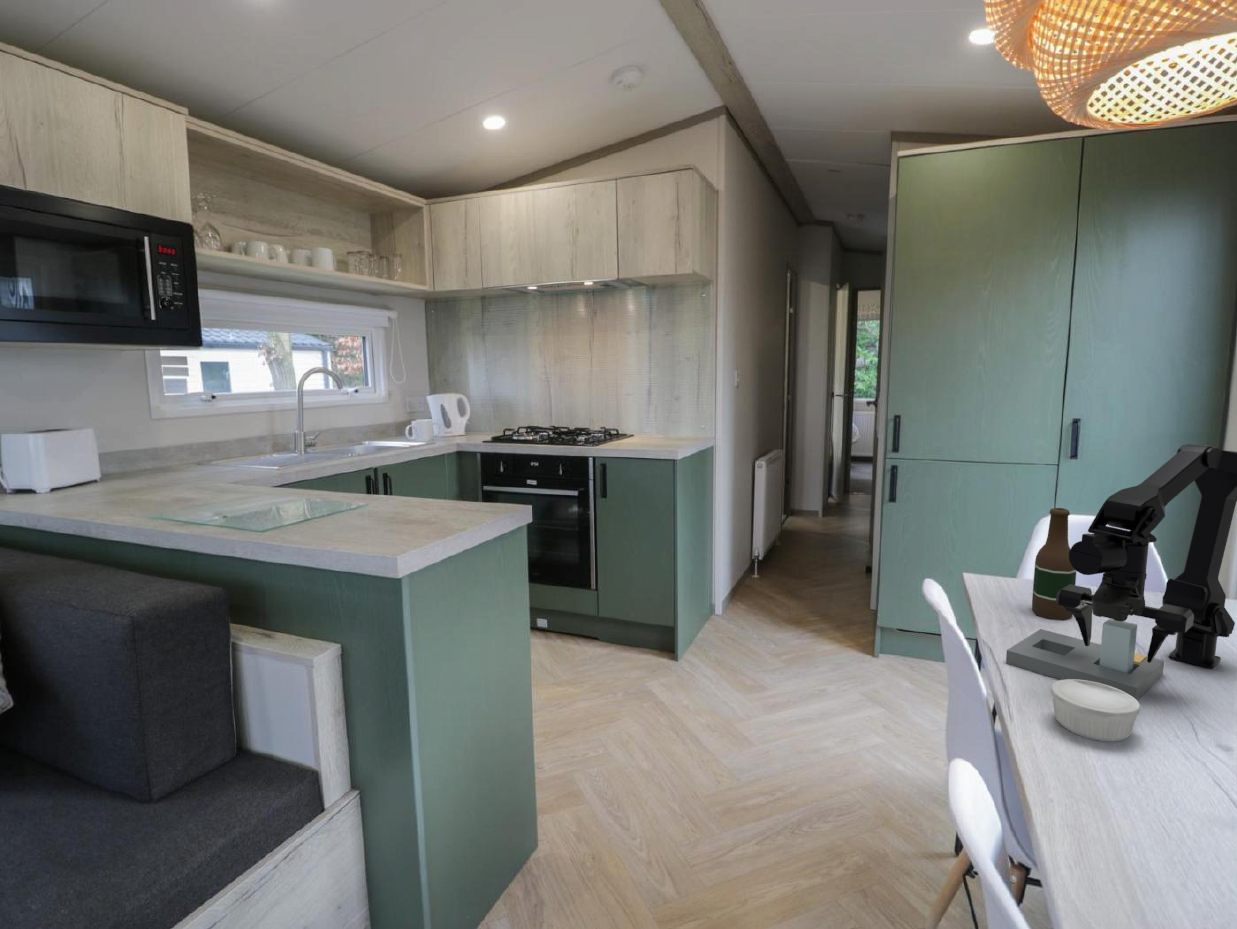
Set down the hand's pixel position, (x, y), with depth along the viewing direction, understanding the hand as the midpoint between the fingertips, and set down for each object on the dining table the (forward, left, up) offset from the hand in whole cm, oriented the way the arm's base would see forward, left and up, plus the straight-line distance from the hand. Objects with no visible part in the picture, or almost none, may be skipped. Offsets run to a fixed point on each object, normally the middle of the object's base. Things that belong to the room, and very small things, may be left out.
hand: (1117, 653), depth 120 cm
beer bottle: (-26, -19, -5) cm, 33 cm away
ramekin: (+22, +3, -5) cm, 23 cm away
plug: (0, 0, -4) cm, 4 cm away
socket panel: (0, -5, -4) cm, 7 cm away
